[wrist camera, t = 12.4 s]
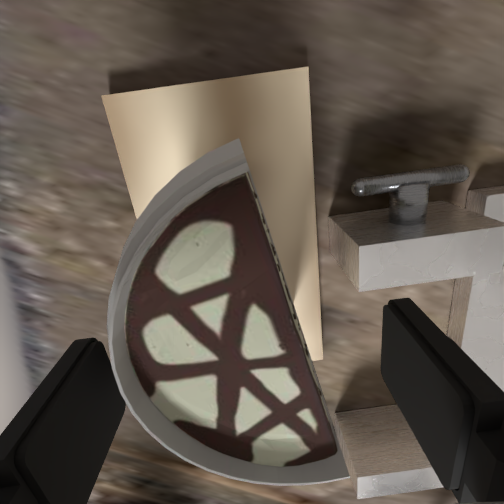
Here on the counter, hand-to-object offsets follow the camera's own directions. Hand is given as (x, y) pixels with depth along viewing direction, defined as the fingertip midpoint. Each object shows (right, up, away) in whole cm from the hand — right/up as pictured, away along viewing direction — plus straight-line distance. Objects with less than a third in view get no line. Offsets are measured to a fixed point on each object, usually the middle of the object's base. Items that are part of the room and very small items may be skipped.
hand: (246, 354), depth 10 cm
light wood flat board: (-1, +4, +9) cm, 10 cm away
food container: (-2, +3, +8) cm, 9 cm away
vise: (+12, -1, +12) cm, 17 cm away
